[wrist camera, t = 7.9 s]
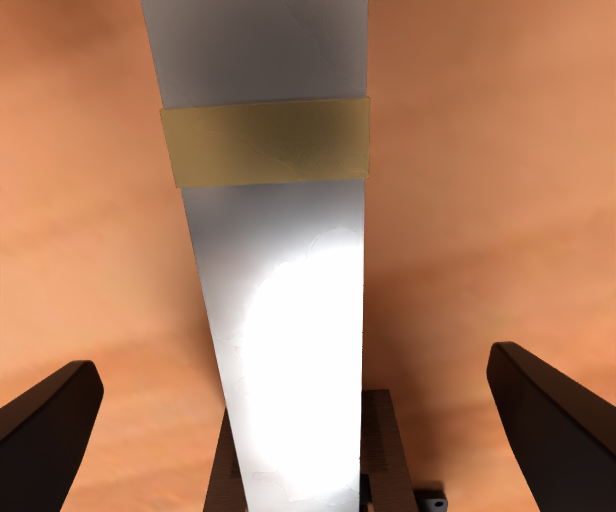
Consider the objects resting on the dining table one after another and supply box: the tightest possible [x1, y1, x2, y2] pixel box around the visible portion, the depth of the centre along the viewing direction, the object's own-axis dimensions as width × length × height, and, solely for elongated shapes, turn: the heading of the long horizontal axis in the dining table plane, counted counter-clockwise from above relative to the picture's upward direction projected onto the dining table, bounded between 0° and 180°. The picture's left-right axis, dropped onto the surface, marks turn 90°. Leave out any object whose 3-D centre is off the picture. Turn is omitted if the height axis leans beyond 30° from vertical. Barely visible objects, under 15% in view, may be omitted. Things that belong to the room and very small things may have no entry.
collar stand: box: [203, 390, 418, 512], centre depth 12 cm, size 20×8×7 cm, turn 3°
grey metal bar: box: [141, 0, 370, 512], centre depth 10 cm, size 22×3×3 cm, turn 3°
